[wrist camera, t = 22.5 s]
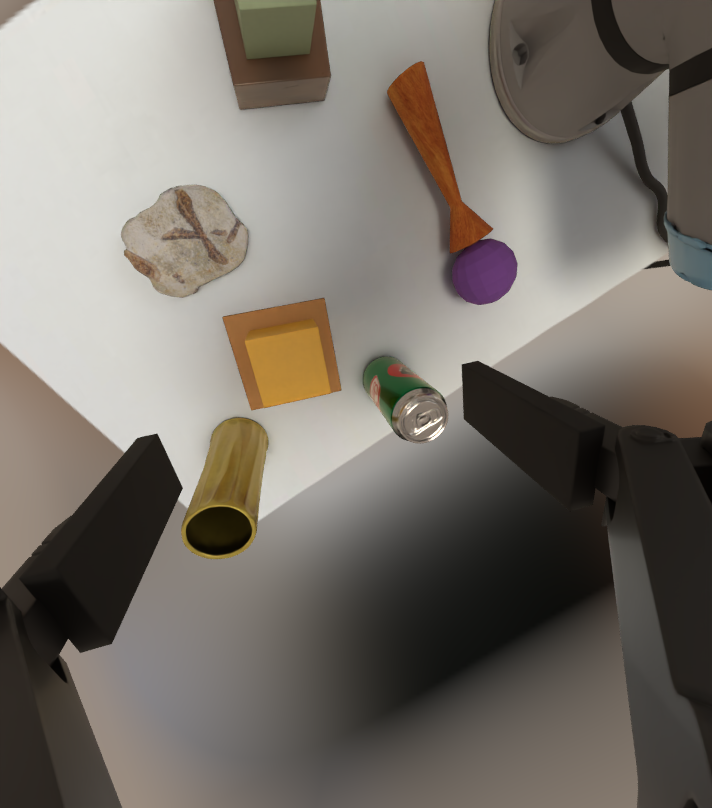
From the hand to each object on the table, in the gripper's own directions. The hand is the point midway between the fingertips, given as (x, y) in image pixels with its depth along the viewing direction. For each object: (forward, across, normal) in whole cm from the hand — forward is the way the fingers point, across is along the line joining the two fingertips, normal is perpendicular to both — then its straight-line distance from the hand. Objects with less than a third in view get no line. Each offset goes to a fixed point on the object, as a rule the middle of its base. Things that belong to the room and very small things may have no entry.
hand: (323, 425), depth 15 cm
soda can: (+22, +8, -7) cm, 25 cm away
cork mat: (+22, -2, -2) cm, 22 cm away
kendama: (+23, +16, +9) cm, 29 cm away
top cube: (+22, -2, -2) cm, 22 cm away
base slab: (+22, +3, +22) cm, 31 cm away
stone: (+22, -8, +10) cm, 25 cm away
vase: (+22, -9, -11) cm, 26 cm away
